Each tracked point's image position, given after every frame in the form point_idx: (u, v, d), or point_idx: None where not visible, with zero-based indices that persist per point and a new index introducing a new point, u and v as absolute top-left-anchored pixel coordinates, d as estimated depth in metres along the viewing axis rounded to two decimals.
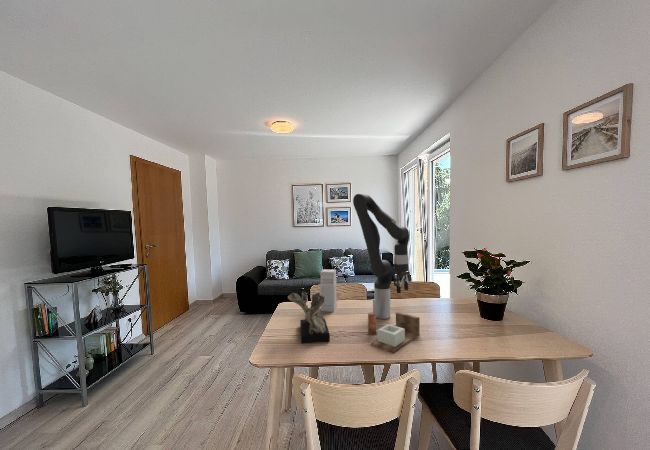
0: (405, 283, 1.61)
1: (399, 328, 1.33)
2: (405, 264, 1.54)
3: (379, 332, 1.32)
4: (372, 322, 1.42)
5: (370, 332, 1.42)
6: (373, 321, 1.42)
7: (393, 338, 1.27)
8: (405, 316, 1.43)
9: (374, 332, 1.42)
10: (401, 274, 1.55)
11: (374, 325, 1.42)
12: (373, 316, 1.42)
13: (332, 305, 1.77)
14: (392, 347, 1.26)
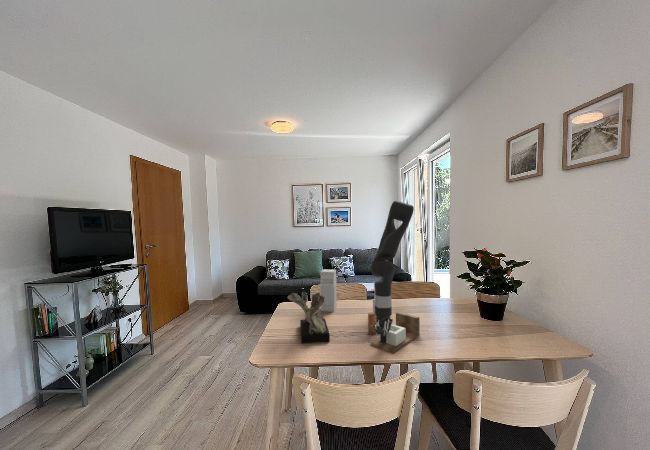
0: None
1: (400, 327, 1.34)
2: (387, 308, 1.24)
3: None
4: (372, 322, 1.42)
5: (370, 332, 1.42)
6: (373, 321, 1.42)
7: (394, 337, 1.27)
8: (405, 316, 1.43)
9: (374, 332, 1.42)
10: (382, 320, 1.25)
11: None
12: (373, 316, 1.42)
13: (332, 305, 1.77)
14: (392, 347, 1.26)
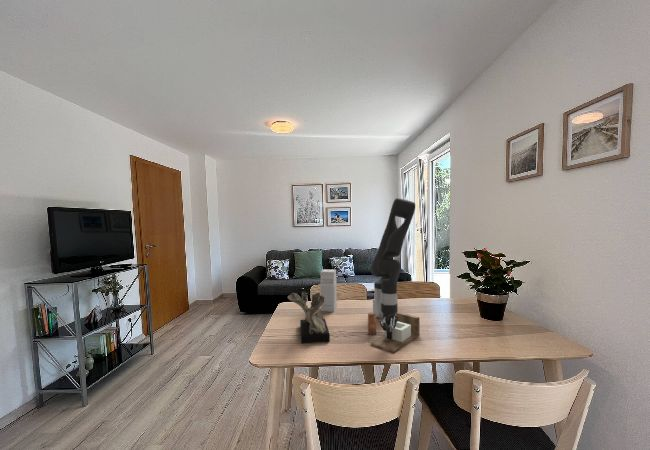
0: None
1: (405, 324, 1.37)
2: (393, 305, 1.28)
3: None
4: (372, 322, 1.42)
5: (370, 332, 1.42)
6: (373, 321, 1.42)
7: (400, 334, 1.31)
8: (405, 316, 1.43)
9: (374, 332, 1.42)
10: (388, 316, 1.29)
11: (374, 325, 1.42)
12: (373, 316, 1.42)
13: (332, 305, 1.77)
14: (392, 347, 1.26)
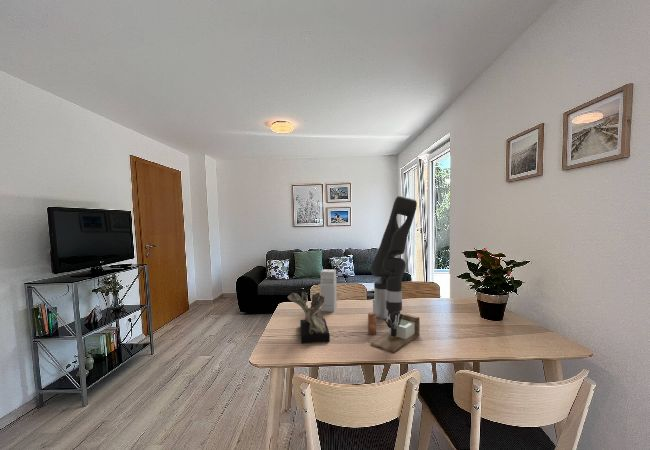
0: None
1: (409, 322, 1.40)
2: (398, 302, 1.31)
3: None
4: (372, 322, 1.42)
5: (370, 332, 1.42)
6: (373, 321, 1.42)
7: (404, 331, 1.34)
8: (405, 316, 1.43)
9: (374, 332, 1.42)
10: (393, 314, 1.32)
11: (374, 325, 1.42)
12: (373, 316, 1.42)
13: (332, 305, 1.77)
14: (392, 347, 1.26)
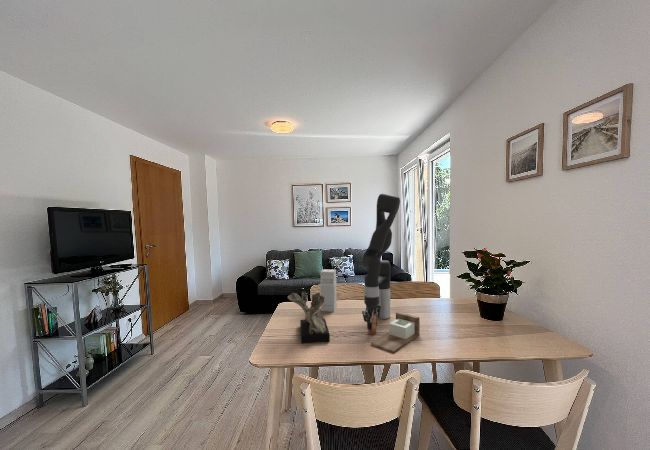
0: None
1: (409, 322, 1.40)
2: (375, 297, 1.40)
3: (390, 326, 1.39)
4: (372, 322, 1.42)
5: (370, 332, 1.42)
6: (373, 321, 1.42)
7: (404, 331, 1.34)
8: (405, 316, 1.43)
9: (374, 332, 1.42)
10: (370, 308, 1.41)
11: (374, 325, 1.42)
12: (373, 316, 1.42)
13: (332, 305, 1.77)
14: (392, 347, 1.26)
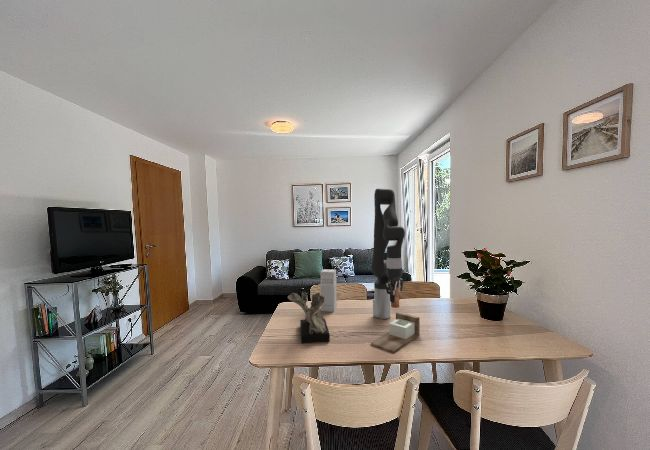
0: None
1: (409, 322, 1.40)
2: (398, 269, 1.36)
3: (390, 326, 1.39)
4: (395, 295, 1.38)
5: (393, 305, 1.38)
6: (396, 294, 1.38)
7: (404, 331, 1.34)
8: (405, 316, 1.43)
9: (397, 305, 1.38)
10: (393, 280, 1.37)
11: (397, 298, 1.38)
12: (396, 288, 1.38)
13: (332, 305, 1.77)
14: (392, 347, 1.26)
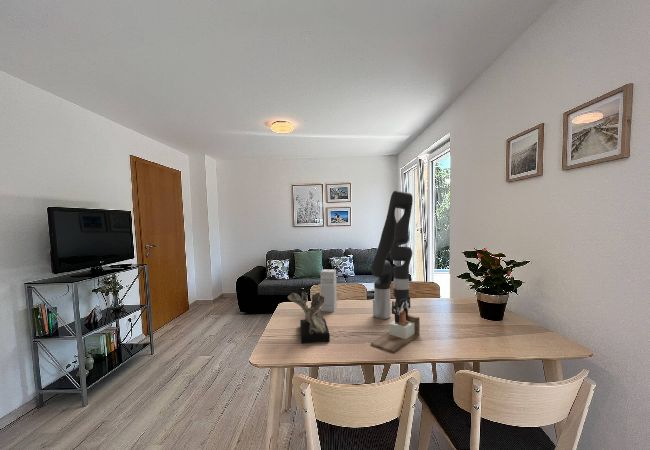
0: (404, 310, 1.42)
1: (409, 322, 1.40)
2: (405, 290, 1.35)
3: (390, 326, 1.39)
4: (402, 320, 1.38)
5: None
6: (403, 319, 1.38)
7: (404, 331, 1.34)
8: None
9: None
10: (400, 301, 1.36)
11: (404, 323, 1.38)
12: (403, 314, 1.38)
13: (332, 305, 1.77)
14: (392, 347, 1.26)
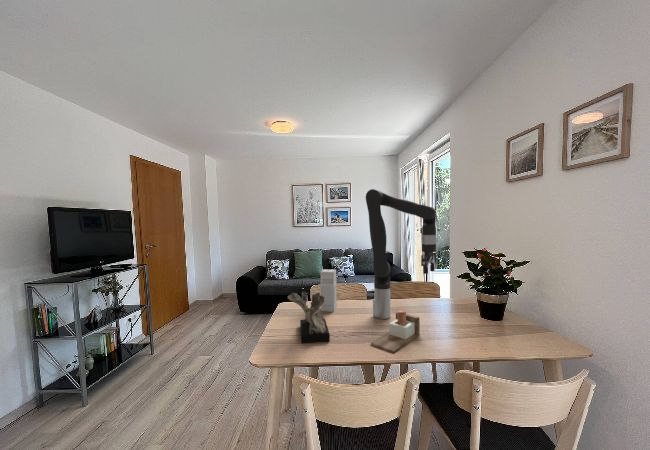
0: (431, 264, 1.58)
1: (409, 322, 1.40)
2: (433, 244, 1.51)
3: (390, 326, 1.39)
4: (402, 320, 1.38)
5: None
6: (403, 319, 1.38)
7: (404, 331, 1.34)
8: None
9: None
10: (429, 254, 1.52)
11: (404, 323, 1.38)
12: (403, 314, 1.38)
13: (332, 305, 1.77)
14: (392, 347, 1.26)
